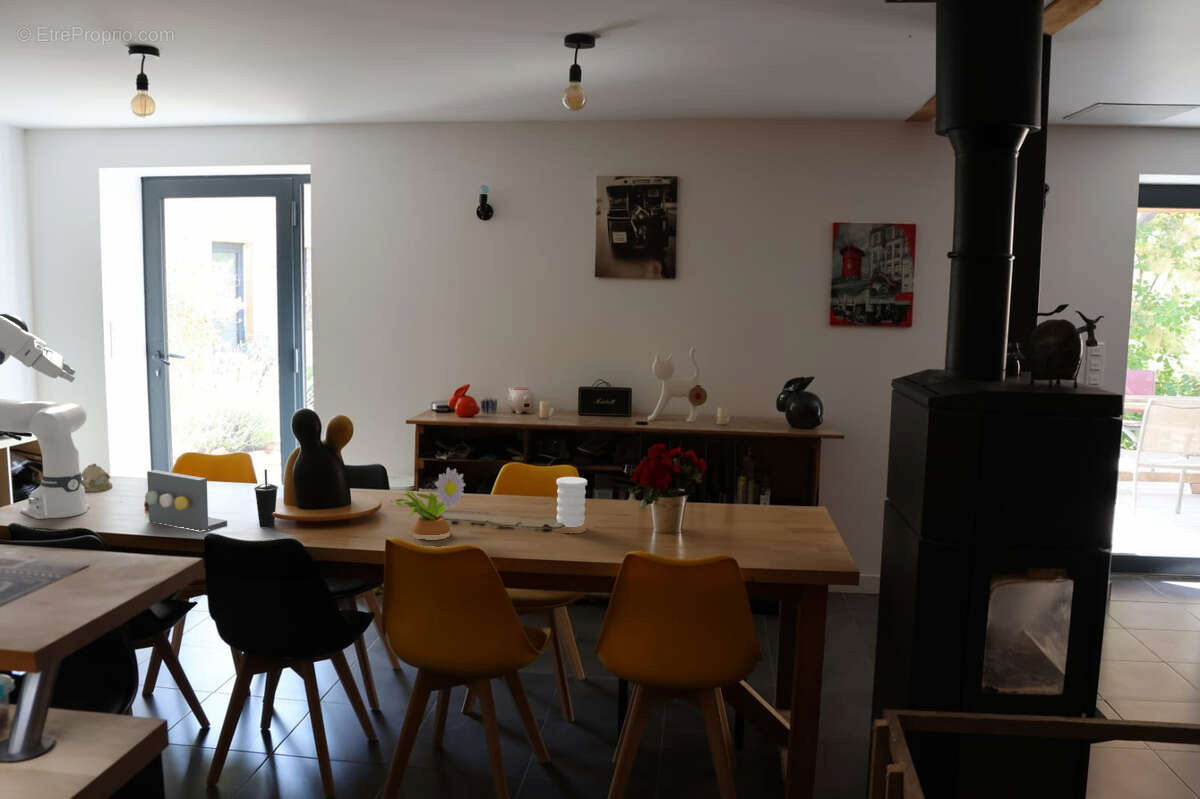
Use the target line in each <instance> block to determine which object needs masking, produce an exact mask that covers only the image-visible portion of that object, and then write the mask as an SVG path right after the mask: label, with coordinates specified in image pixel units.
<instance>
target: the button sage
mask: <svg viewBox="0 0 1200 799" xmlns="http://www.w3.org/2000/svg"><path fill="white" fill-rule="evenodd" d="M144 497H145V501H146V503H147V504H150V505H152V504H156V503H158V502H159V494H158V493H157V492H156V491H151V492H148V491H147V492H146V493H145V496H144Z"/></svg>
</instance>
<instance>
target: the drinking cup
mask: <svg viewBox="0 0 1200 799" xmlns="http://www.w3.org/2000/svg"><path fill="white" fill-rule="evenodd" d="M253 490H254V491H255V492H254V493H255V499H256V508H257V517H258V525H259V527H260V528H262V527H269V528H271V527H270V526H273V527H274V526H275V523H276V521H275V520H276V516H275V517H274V516H272V515H271V514H272V513H273V512H275V513H276V509H277V496H278V495H277V494H278V490H279V487H278V486H277V485H274V484H272V483H268V469H266V468H265V469H264V483H262V484H259V485H257V486H255V487H254V488H253Z"/></svg>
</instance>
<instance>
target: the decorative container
mask: <svg viewBox="0 0 1200 799" xmlns="http://www.w3.org/2000/svg"><path fill="white" fill-rule="evenodd" d="M556 485H557V490H556V492H557V497H556V498H557V499H556V501H557V506H556V512H557V515H556V521H557V522H558V523H563V524H564V525H565V526H566V527H578V526H582V525H583V524H585V521H586V516H585V512H586V507H585V504H586V493H587V491H586V486H588V480H587V479H586V478H583V477H578V476H563V477H562V476H561V477H559V478H556ZM557 522H556V523H557Z"/></svg>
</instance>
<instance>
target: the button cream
mask: <svg viewBox="0 0 1200 799" xmlns="http://www.w3.org/2000/svg"><path fill="white" fill-rule="evenodd" d="M160 504H161V505H162V506H163V507H169V506H172V505H173V504H174V498H173V496H172V495H171V494H169V493H168V494H163V495H161V496H160Z"/></svg>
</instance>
